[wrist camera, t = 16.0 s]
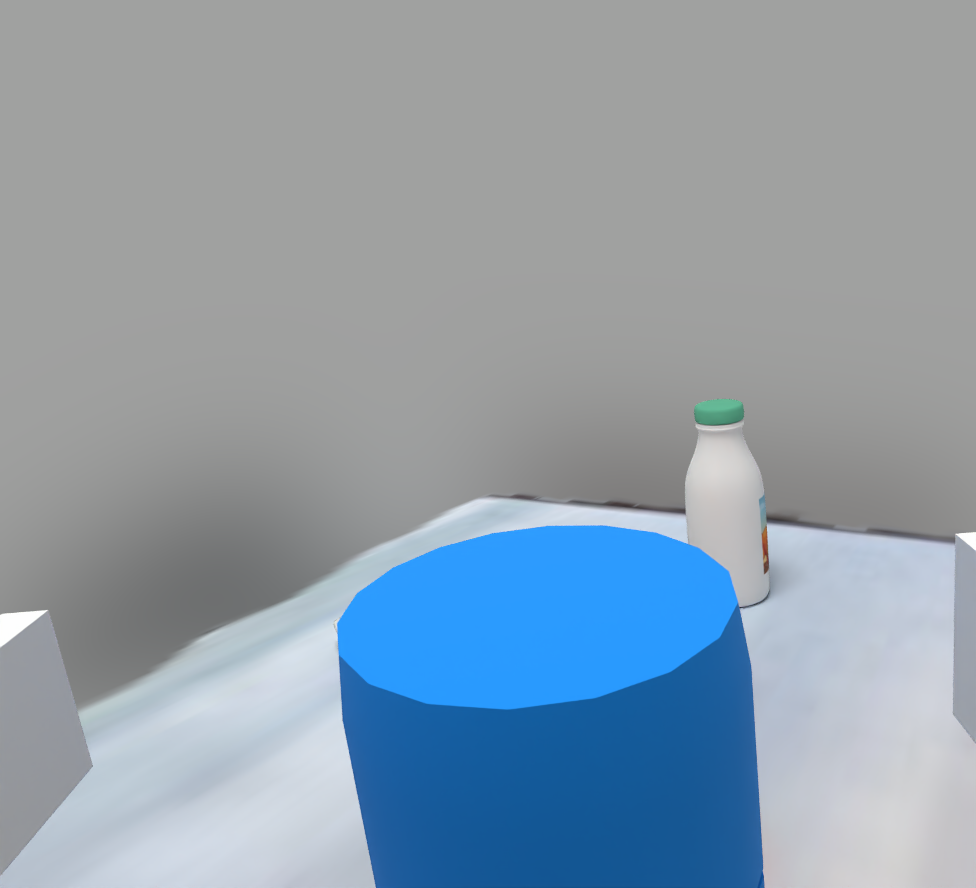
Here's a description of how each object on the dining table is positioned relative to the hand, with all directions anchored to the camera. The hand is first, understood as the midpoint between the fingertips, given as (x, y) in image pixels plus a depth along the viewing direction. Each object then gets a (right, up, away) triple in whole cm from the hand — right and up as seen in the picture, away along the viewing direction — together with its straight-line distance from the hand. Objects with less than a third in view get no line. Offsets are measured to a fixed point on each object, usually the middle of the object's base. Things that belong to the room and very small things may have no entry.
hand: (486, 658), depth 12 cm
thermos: (+5, -25, +16) cm, 30 cm away
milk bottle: (+25, -12, +75) cm, 80 cm away
